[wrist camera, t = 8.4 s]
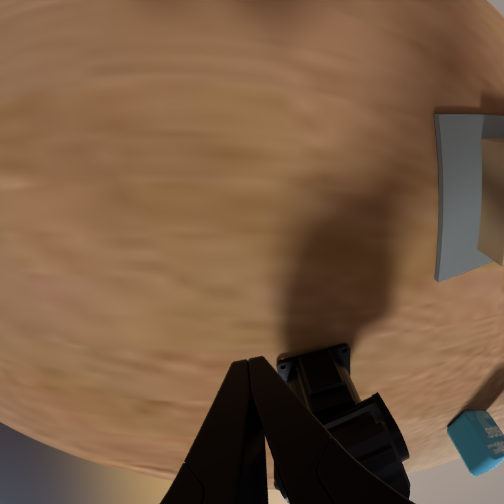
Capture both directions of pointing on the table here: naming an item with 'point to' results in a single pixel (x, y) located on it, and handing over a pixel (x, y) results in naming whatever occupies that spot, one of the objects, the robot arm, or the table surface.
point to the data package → (477, 441)
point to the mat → (461, 189)
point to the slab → (492, 200)
